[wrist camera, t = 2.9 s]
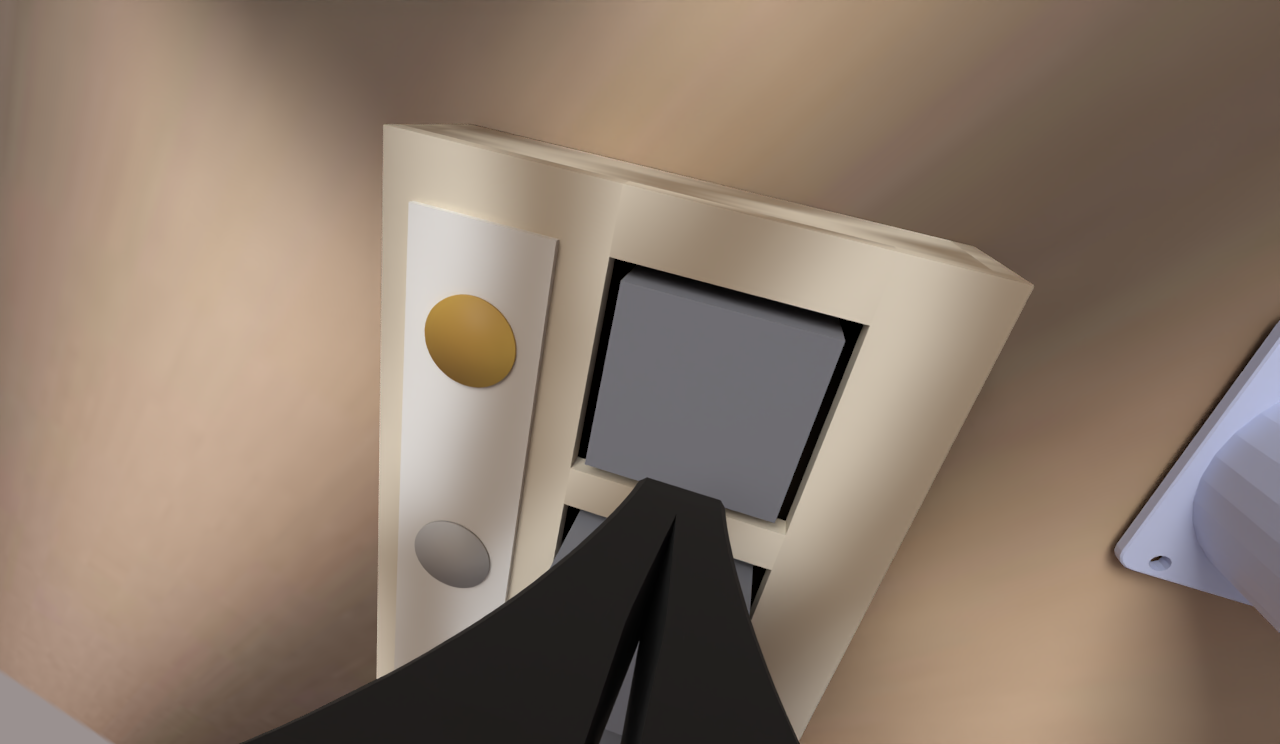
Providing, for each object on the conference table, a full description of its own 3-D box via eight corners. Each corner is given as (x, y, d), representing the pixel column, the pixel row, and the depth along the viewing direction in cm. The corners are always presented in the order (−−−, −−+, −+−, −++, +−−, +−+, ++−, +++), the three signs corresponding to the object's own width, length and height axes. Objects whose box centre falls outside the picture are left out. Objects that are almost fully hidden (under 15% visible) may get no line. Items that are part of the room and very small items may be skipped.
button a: (832, 296, 15) (845, 341, 12) (776, 451, 18) (774, 523, 14) (652, 249, 16) (620, 280, 13) (618, 405, 18) (585, 464, 15)
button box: (974, 246, 15) (1040, 289, 11) (732, 774, 25) (723, 895, 21) (469, 123, 17) (374, 124, 13) (431, 664, 26) (371, 757, 22)
